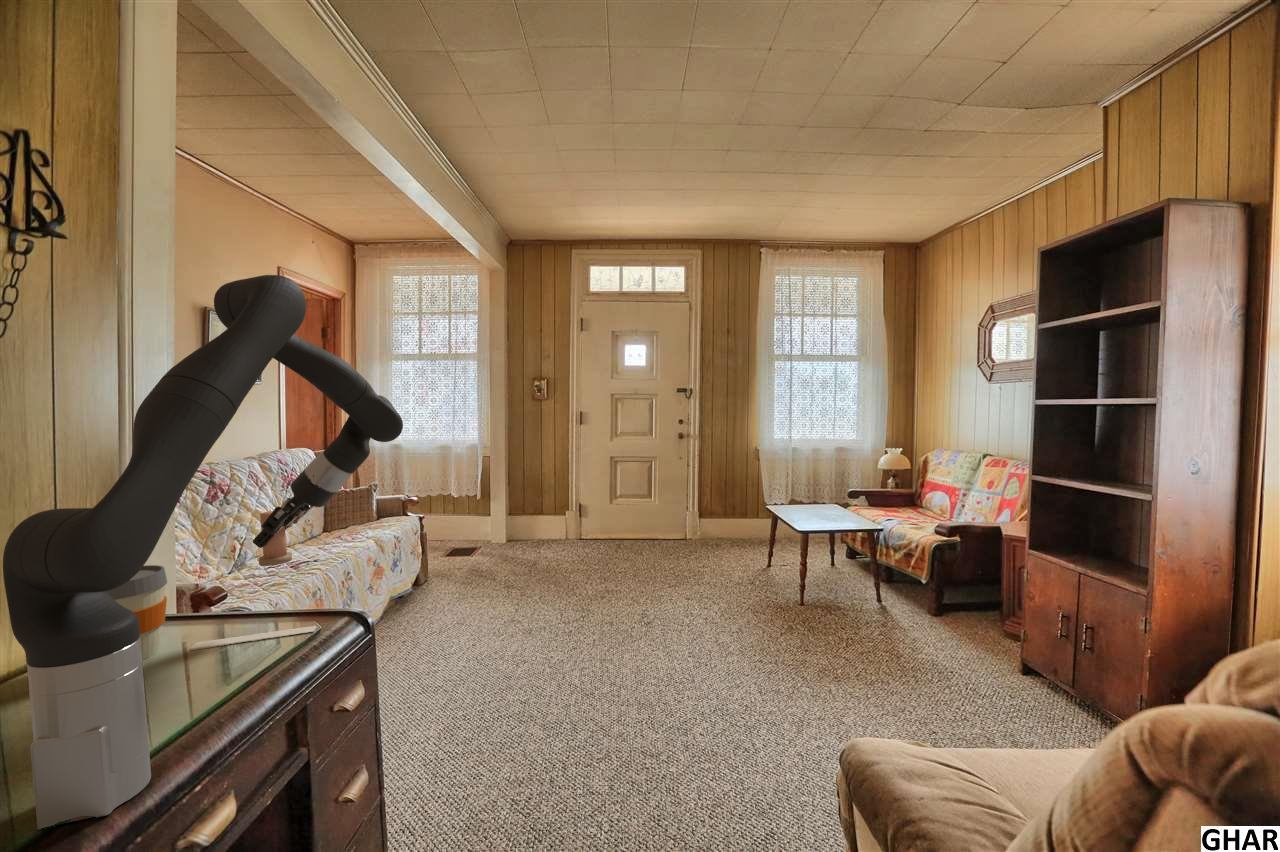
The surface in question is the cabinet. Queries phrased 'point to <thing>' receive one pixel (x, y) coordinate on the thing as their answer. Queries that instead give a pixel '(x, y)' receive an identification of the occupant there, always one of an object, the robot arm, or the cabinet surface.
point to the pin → (274, 547)
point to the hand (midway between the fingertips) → (263, 541)
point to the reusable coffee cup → (145, 604)
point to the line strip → (250, 637)
